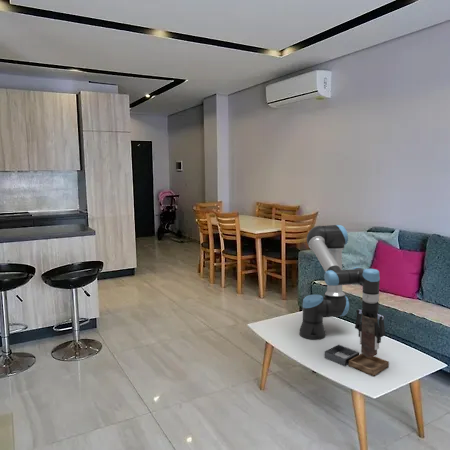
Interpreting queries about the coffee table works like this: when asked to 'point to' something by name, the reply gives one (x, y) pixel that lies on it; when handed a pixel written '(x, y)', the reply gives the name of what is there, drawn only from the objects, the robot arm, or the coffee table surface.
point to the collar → (342, 361)
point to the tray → (369, 364)
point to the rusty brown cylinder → (368, 336)
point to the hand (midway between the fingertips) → (369, 346)
